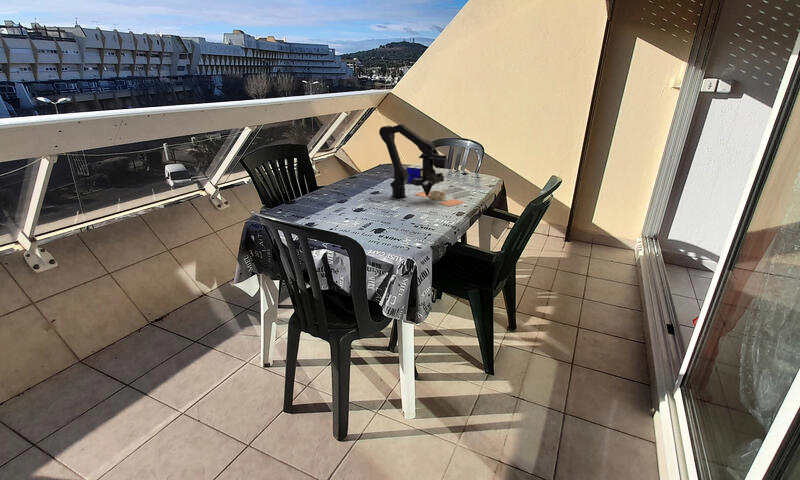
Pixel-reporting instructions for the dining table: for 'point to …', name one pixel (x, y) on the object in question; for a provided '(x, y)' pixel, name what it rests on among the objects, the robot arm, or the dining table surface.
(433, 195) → the block
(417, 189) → the dining table surface
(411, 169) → the puzzle cube
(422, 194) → the mats
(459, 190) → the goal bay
